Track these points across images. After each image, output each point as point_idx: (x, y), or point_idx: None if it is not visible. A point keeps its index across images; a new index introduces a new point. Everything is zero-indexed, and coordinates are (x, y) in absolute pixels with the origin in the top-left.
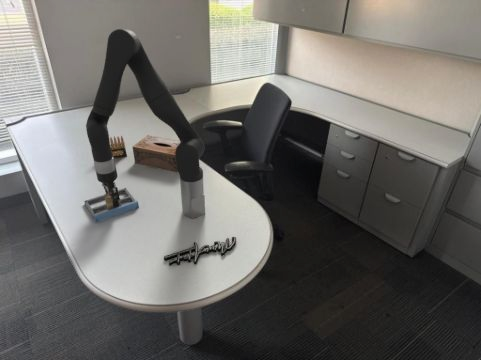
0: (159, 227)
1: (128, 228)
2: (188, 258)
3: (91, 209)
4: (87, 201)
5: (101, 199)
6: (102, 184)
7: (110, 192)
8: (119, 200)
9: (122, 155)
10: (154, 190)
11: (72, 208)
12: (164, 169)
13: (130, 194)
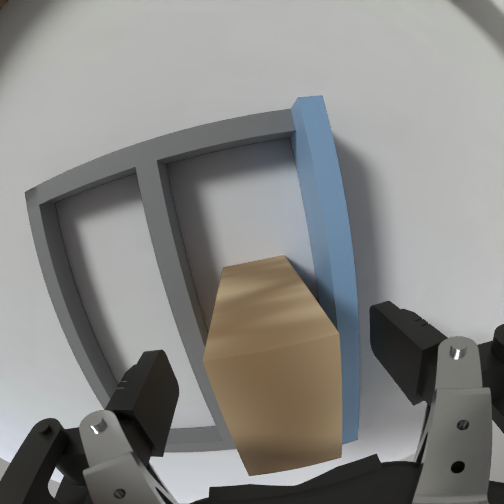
0: (496, 99)
1: (473, 243)
2: None
3: (232, 441)
4: None
5: (108, 369)
6: (82, 486)
7: (151, 389)
8: (308, 294)
9: None
10: (129, 2)
11: (168, 472)
12: (2, 6)
13: (116, 153)
